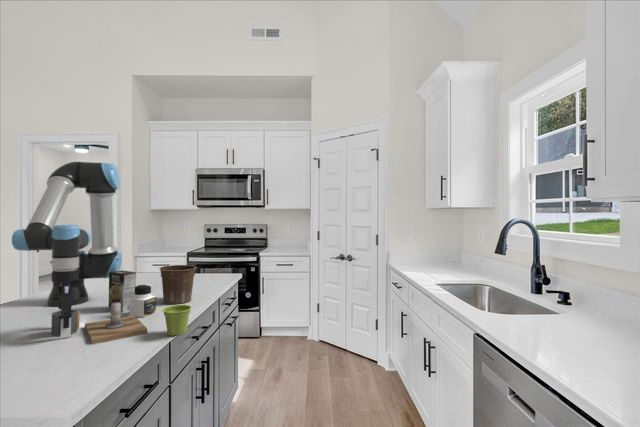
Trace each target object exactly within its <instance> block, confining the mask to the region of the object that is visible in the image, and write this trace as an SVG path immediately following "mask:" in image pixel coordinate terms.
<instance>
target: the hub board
mask: <svg viewBox="0 0 640 427" xmlns="http://www.w3.org/2000/svg"><path fill="white" fill-rule="evenodd" d="M121 313H122V312H121V303H119V302H117V303H112V304H111V310H110V318H109V319H104V320H99V321H93V322H85V323H84V329H85V331H86V333H87V336H88V338H89V341H90V343H91V345H96V344H100V343H106V342H111V341H116V340H120V339H125V338H130V337H136V336H141V335H146V334H148V328H147V327H146V325H144V324H143V323H142V322H141V321H140V320H139V318H138V317H136V316H135V315H134V316H129V315H127V316H124V317H121V316H122V314H121Z"/></svg>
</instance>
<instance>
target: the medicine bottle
mask: <svg viewBox="0 0 640 427" xmlns="http://www.w3.org/2000/svg"><path fill="white" fill-rule="evenodd" d="M156 313H157V296H156V295H152V286H151V285H150V284H138V285H136V287H135V297H134V298H130V299H129V310H128V316H134V315H135V316H136V318H146V317H149V316H151V315H154V314H156Z"/></svg>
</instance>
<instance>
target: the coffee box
mask: <svg viewBox="0 0 640 427" xmlns="http://www.w3.org/2000/svg"><path fill="white" fill-rule="evenodd" d="M136 286H137V271H129V270H121V269H120V270H119V271H113V272H109V278H108V310H110V311H111V304H112V303H117V302H119V303H121V313H125V312H129V299H130V298H134V297H135V287H136Z"/></svg>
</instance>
